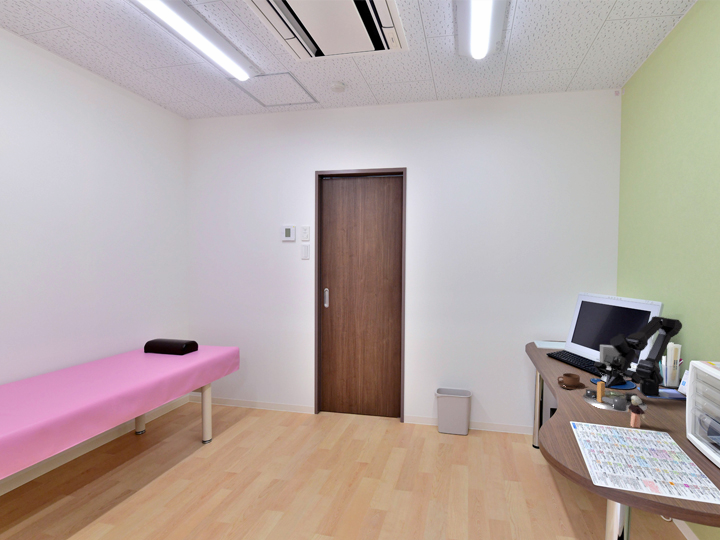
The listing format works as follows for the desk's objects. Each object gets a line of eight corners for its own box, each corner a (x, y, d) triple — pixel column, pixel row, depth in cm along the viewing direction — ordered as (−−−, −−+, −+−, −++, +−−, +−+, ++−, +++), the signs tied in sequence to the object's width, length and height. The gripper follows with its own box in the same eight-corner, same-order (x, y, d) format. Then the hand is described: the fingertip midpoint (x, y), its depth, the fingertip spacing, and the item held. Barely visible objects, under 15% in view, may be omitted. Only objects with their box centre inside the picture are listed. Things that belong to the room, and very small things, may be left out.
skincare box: (602, 376, 214) (602, 346, 213) (598, 372, 220) (598, 343, 220) (620, 377, 211) (620, 347, 211) (616, 373, 218) (616, 344, 217)
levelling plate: (636, 397, 183) (636, 386, 182) (656, 417, 160) (656, 405, 160) (577, 392, 190) (577, 381, 190) (588, 411, 168) (588, 399, 168)
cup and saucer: (566, 392, 191) (566, 379, 191) (553, 384, 203) (553, 372, 203) (590, 391, 192) (590, 378, 191) (576, 383, 204) (576, 371, 203)
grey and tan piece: (629, 409, 165) (629, 389, 165) (621, 411, 164) (621, 391, 163) (602, 399, 176) (603, 381, 176) (595, 401, 175) (595, 382, 174)
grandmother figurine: (622, 425, 153) (622, 393, 153) (629, 424, 155) (629, 392, 154) (642, 434, 146) (642, 400, 146) (649, 432, 148) (650, 398, 147)
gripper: (596, 344, 186) (578, 370, 182) (636, 353, 168) (618, 382, 165) (608, 359, 189) (591, 385, 185) (649, 369, 171) (631, 398, 168)
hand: (606, 387), depth 176 cm, fingers closed
